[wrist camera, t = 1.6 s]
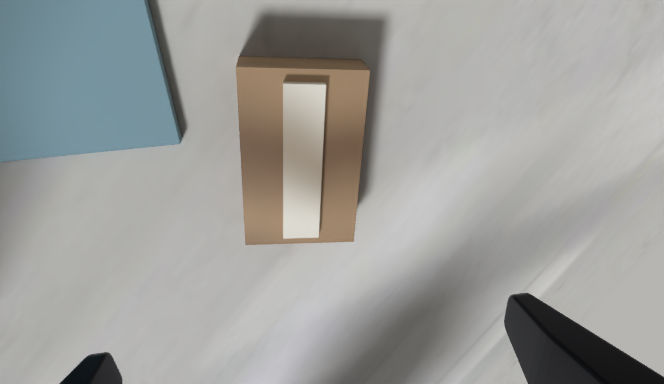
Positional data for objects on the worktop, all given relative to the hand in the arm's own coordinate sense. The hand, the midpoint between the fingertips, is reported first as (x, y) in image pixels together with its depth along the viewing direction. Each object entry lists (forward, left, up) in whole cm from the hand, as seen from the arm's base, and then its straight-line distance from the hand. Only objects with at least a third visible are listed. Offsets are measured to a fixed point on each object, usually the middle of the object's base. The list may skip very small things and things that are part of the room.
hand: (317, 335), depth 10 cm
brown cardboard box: (0, 0, -12) cm, 12 cm away
